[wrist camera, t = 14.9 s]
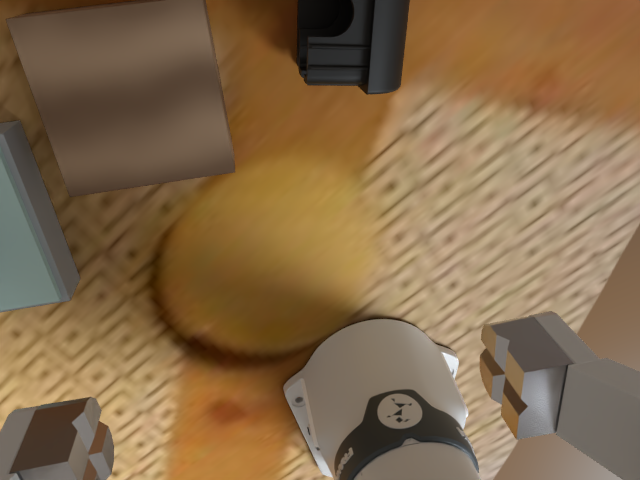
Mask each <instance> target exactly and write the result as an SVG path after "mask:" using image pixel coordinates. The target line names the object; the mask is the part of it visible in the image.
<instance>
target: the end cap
mask: <svg viewBox="0 0 640 480" xmlns="http://www.w3.org/2000/svg"><path fill="white" fill-rule="evenodd" d="M409 2H410V0H298V17H297V64H298V66H299V74H300V75H301V77H303V78H304V81H305V83H306V84H307V85H337V86H358V87H360V88H361V89H362V90H363V91H364V92H365V93H366V94H383V93H389V92H393V91H395V90H397V89H398V88H399V87H400V85H401V76H402V67H403V58H404V48H405V39H406V30H407V21H408V11H409Z"/></svg>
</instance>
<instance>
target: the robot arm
mask: <svg viewBox="0 0 640 480" xmlns="http://www.w3.org/2000/svg"><path fill="white" fill-rule="evenodd" d="M481 340H482V342H483V343H484V345H485V346H486V349H485V350H484V351H483V353H482V354H481V355H480V372H481V377H482V381H483V383H484V386H485V388H486V390H487V392H488V394H489V396H490V397H491V399H493V400H495V401H496V402H498V403H500V404H502V409H501V416H502V417H503V419H504V420H505V422H506V424H507V425H508V427H509V428H510V430H511V432H512V433H513V435H514V437H515V438H516V440H517V439H522V438H528V437H534V436H539V435H545V434H550V433H556V435H558V436H559V437H561V438H562V439H563V440H565V441H566V442H568V443H569V444H571V445H573V446H574V447H575V448H577V449H578V450H580V451H581V452H583V453H584V454H586V455H587V456H589V457H590V458H592V459H593V460H594V461H596V462H597V463H599V464H600V465H602V466H604V467H605V468H606V469H608V470H609V471H611V472H612V473H614V474H615V475H617V476H618V477H620V478H621V479H623V480H640V372H639V371H637V370H635V369H632V368H630V367H627V366H625V365H622V364H620V363H617V362H615V361H613V360H610V359H608V358H604V359H599V358H598V357H597V356H596V355H595V353H594V352H593V351H592V350H591V349H590V348H589V347H588V346H587V345H586V344H585V343H584V342H583V341H582V340H581V339H580V338H579V337H578V336H577V335H576V334H575V332H574V331H573V330H572V329H571V328H570V327H569V326H568V325H567V324H566V323H565V322H564V321H563V320H562V319H561V318H560V317H559V316H558V315H557V314H556V313H554V312H552V311H549V312H544V313H539V314H535V315H530V316H528V317H521V318H516V319H511V320H506V321H501V322H495V323H490V324H485V325H484V326H483V329H482V334H481ZM458 365H459V360H458V358H457V355H456V353H455V352H454V351H452V350H451V349H448V348H446V347H443V346H440V345H437V344H435V343H434V342H433V341H431V340H430V338H429V337H428V336H427V335H426V334H425V333H424V332H422V331H421V330H420V329H418V328H417V327H415V326H413V325H411V324H408V323H405V322H402V321H398V320H391V319H375V320H368V321H363V322H359V323H356V324H353V325H350V326H348V327H346V328H344V329H342V330H340V331H338V332H336V333H335V334H333V335H332V336H330V337H329V338H328V339H326V340H325V341H324V342H323V343H322V344H321V345H320V346H319V347H318V348H317V349H316V351H315V352H314V353H313V355H312V356H311V358H310V360H309V361H308V363H307V364H306V366H305V367H304V368H303V369H302V370H301V371H300V372H298V373H297V374H295V375H294V376H293V377H291V378H290V379H289V380H288V381H287V382H286V383H285V385H284V387H283V390H284V394H285V397H286V399H287V401H288V404H289V406H290V408H291V410H292V412H293V414H294V416H295V418H296V421H297V423H298V425H299V427H300V429H301V431H302V433H303V435H304V437H305V440H306V442H307V444H308V446H309V448H310V450H311V452H312V454H313V457H314V459H315V461H316V463H317V465H318V467H319V469H320V471H321V473H322V474H323V475H325V476H330V477H333V478H334V480H481V478H480V476H479V474H478V473H479V468H478V462H477V459H476V457H475V454H474V450H473V447H472V445H471V443H470V441H469V439H468V437H467V436H466V435H465V433H464V431H463V428H464V426H465V422H466V417H467V416H468V409H467V407H466V404H465V402H464V400H463V397H462V395H461V393H460V391H459V388H458V386H457V384H456V382H455V375H456V372H457V368H458ZM297 397H300V398H297ZM100 414H101V408H100V406H99V404H98V402H97V400H96V399H95V398H92V397H88V398H82V399H76V400H69V401H63V402H57V403H51V404H45V405H41V406H35V407H29V408H23V409H17V410H14V411H13V412H12V413H10V414H9V415H8V417H7V419H6V421H5V423H4V425H3V427H2V429H1V431H0V480H106V479H107V478H108V477H109V476H110V475H111V473H112V468H113V462H114V445H113V440H112V435H111V432H110V430H109V427H108V426H107V425H105V424H103V423H102V422H100V421H99V418H100Z"/></svg>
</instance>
